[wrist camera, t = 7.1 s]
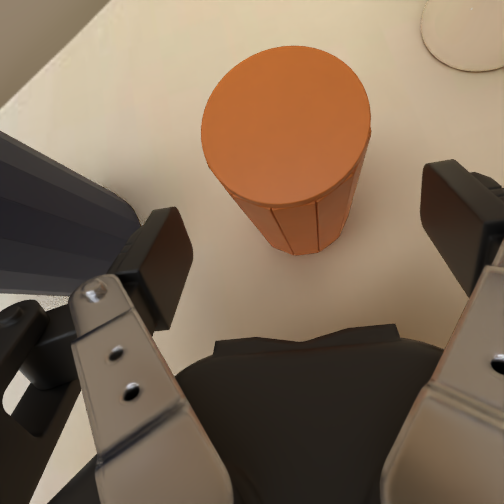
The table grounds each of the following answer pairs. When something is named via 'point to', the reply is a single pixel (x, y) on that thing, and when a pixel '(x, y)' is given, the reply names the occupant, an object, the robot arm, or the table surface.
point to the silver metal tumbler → (465, 33)
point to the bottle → (55, 224)
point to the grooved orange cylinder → (289, 143)
